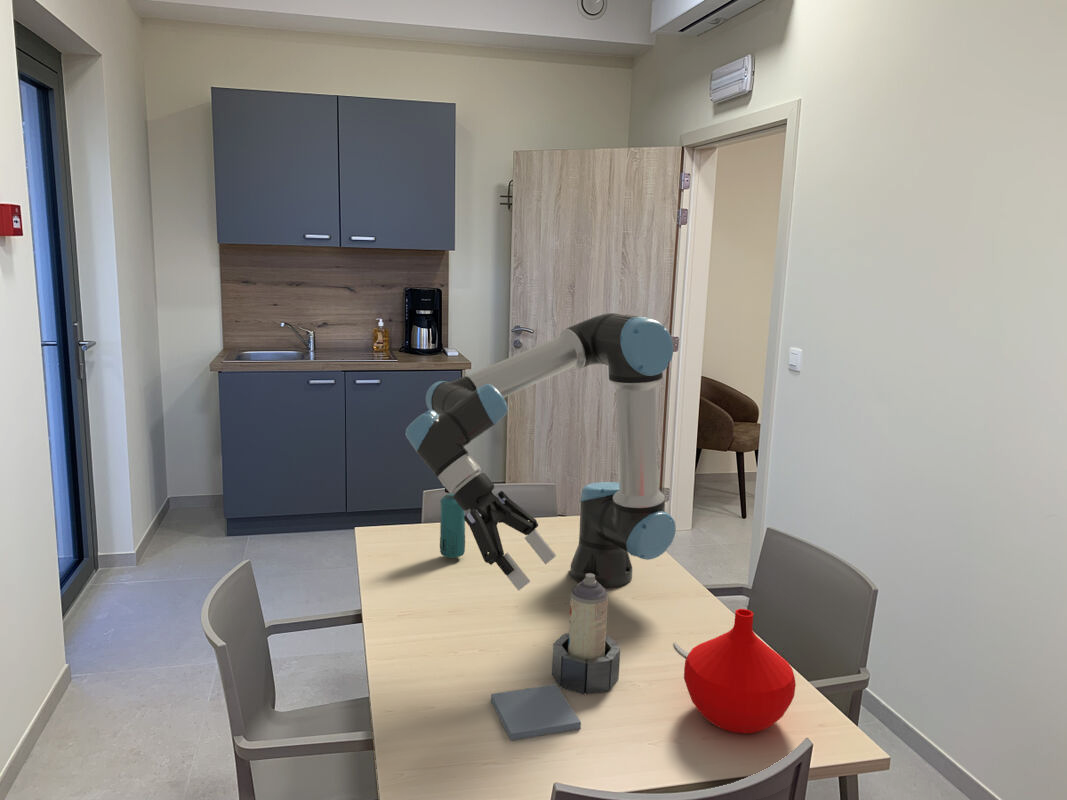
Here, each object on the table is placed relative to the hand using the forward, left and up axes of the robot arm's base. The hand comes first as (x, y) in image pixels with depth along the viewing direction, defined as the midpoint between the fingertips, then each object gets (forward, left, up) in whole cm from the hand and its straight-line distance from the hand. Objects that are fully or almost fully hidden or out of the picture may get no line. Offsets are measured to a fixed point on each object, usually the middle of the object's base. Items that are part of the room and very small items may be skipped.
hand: (538, 572), depth 146 cm
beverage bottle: (+3, -56, -19) cm, 59 cm away
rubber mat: (+5, +15, -19) cm, 25 cm away
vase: (-28, +25, -19) cm, 42 cm away
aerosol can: (-8, +6, -19) cm, 21 cm away
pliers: (-34, +7, -19) cm, 40 cm away
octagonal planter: (-8, +6, -19) cm, 21 cm away
